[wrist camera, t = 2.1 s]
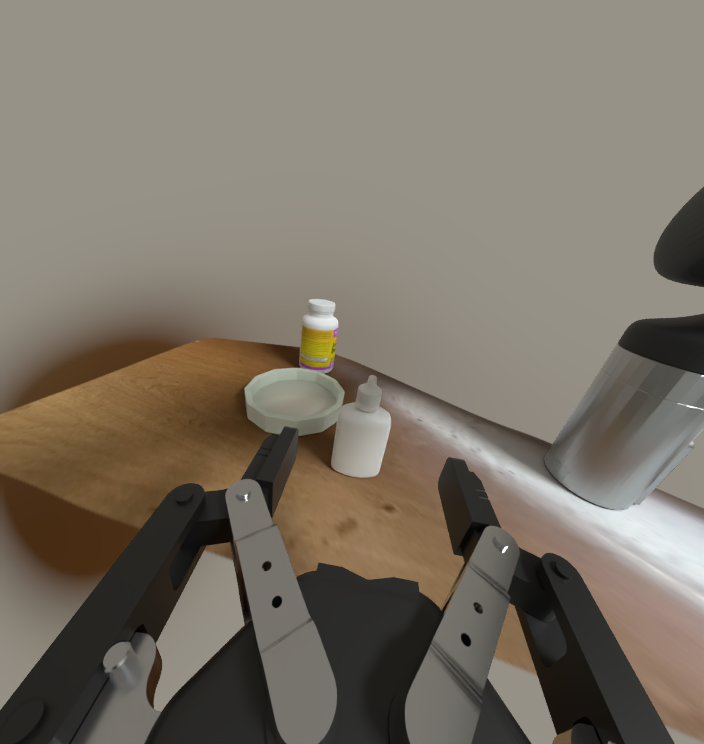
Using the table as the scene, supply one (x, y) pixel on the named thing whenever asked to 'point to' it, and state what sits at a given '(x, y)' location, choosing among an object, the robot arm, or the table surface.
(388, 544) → the table surface
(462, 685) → the robot arm
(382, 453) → the eye dropper bottle
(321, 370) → the supplement bottle
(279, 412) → the dish
